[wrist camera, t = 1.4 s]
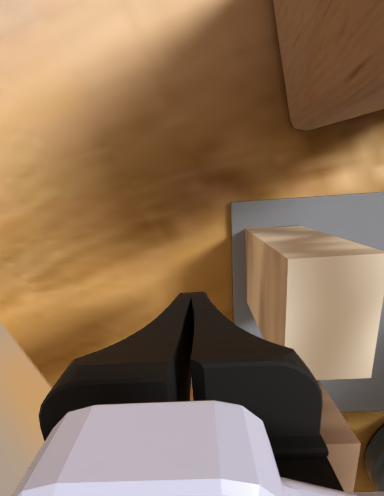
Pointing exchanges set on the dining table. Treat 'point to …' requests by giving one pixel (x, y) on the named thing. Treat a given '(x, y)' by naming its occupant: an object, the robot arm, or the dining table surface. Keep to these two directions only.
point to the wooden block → (331, 59)
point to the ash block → (316, 297)
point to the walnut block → (339, 442)
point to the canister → (376, 461)
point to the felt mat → (330, 222)
